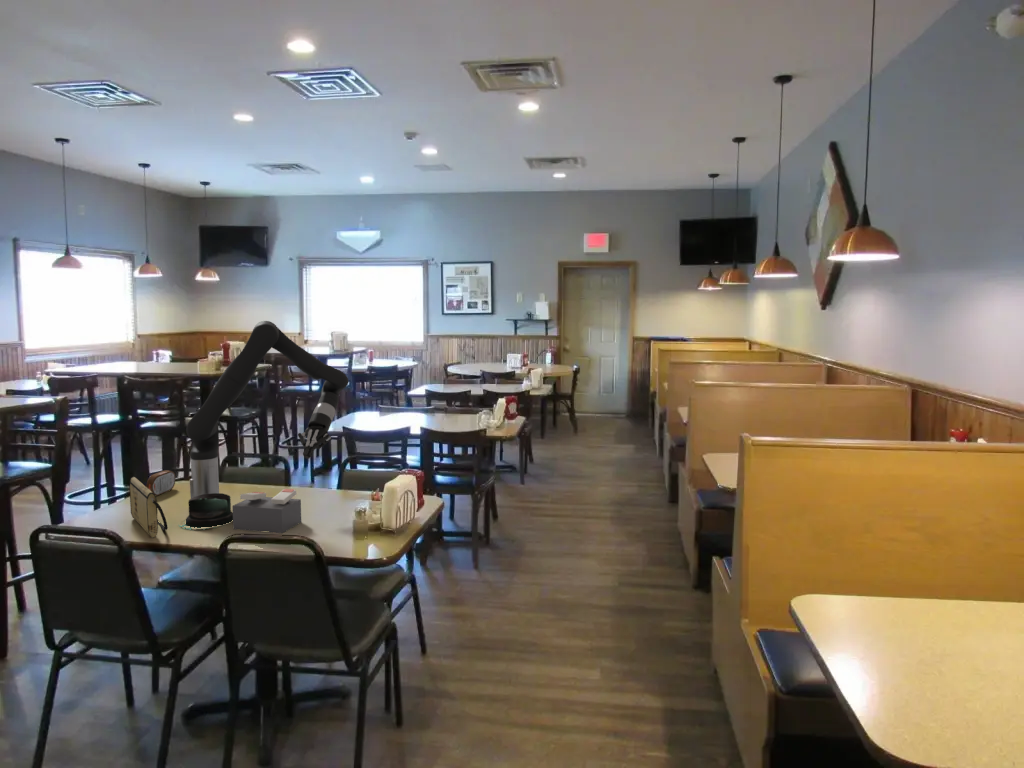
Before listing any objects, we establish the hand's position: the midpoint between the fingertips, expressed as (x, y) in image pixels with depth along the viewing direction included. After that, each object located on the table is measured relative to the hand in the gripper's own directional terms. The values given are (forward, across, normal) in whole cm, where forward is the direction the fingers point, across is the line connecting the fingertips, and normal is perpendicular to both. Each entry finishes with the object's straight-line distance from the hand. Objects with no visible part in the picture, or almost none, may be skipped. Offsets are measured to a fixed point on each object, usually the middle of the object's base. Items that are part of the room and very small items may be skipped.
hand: (306, 457), depth 246 cm
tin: (+7, -69, +22) cm, 73 cm away
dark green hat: (+26, -28, +3) cm, 38 cm away
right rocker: (+18, 0, -4) cm, 18 cm away
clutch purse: (+33, -43, -4) cm, 55 cm away
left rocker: (+19, -10, -5) cm, 22 cm away
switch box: (+26, -6, +2) cm, 27 cm away
